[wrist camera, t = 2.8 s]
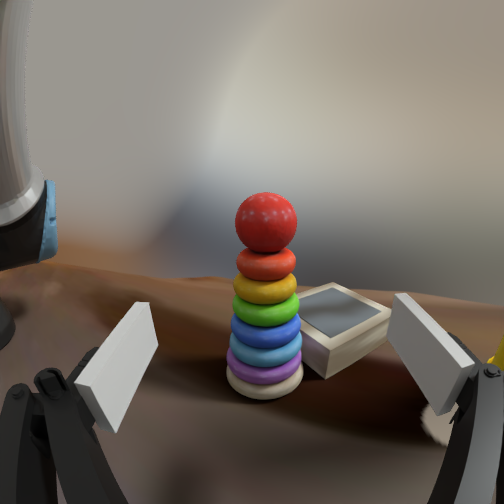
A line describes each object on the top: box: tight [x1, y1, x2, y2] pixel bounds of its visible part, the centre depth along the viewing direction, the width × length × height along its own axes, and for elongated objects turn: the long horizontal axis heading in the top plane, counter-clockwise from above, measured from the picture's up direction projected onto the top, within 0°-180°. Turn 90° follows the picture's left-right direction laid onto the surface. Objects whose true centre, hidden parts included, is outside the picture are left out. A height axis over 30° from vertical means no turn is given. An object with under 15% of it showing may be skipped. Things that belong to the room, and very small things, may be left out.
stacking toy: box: [227, 192, 303, 400], centre depth 24 cm, size 8×8×19 cm
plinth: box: [296, 282, 392, 379], centre depth 33 cm, size 12×12×4 cm
